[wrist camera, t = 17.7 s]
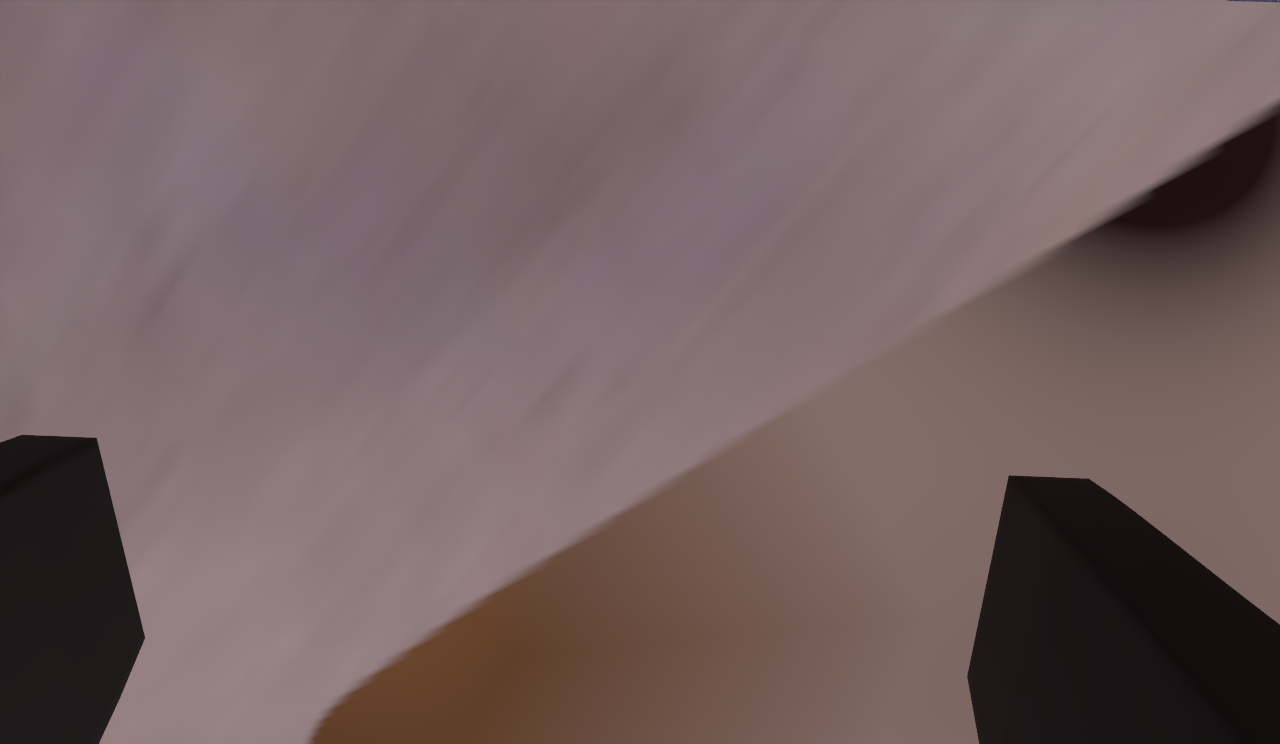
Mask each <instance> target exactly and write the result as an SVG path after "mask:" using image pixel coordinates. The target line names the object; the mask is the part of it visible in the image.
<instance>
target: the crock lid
mask: <svg viewBox="0 0 1280 744" xmlns="http://www.w3.org/2000/svg"><path fill="white" fill-rule="evenodd" d="M1228 1H1250V2H1280V0H1228Z"/></svg>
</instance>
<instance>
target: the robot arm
mask: <svg viewBox="0 0 1280 744" xmlns="http://www.w3.org/2000/svg"><path fill="white" fill-rule="evenodd" d="M144 639H145V636H144V632H143V628H142V624H141V619H140V615H139V611H138V607H137V603H136V599H135V595H134V591H133V586H132V582H131V578H130V574H129V570H128V566H127V562H126V557H125V553H124V549H123V545H122V541H121V537H120V533H119V529H118V524H117V520H116V516H115V512H114V508H113V504H112V500H111V495H110V491H109V487H108V483H107V479H106V475H105V471H104V467H103V462H102V458H101V454H100V450H99V446H98V442H97V438H84V437H59V436H35V435H20V436H18V437H15V438H12V439H9V440H7V441H4V442H1V443H0V744H99V742H100V740H101V738H102V735H103V733H104V731H105V729H106V727H107V725H108V723H109V720H110V718H111V716H112V714H113V712H114V710H115V707H116V705H117V703H118V701H119V699H120V696H121V694H122V692H123V689H124V687H125V684H126V682H127V680H128V677H129V675H130V672H131V670H132V668H133V665H134V663H135V661H136V658H137V656H138V653H139V651H140V649H141V646H142V644H143V641H144ZM967 677H968V683H969V688H970V694H971V700H972V705H973V711H974V717H975V722H976V727H977V733H978V739H979V744H1280V625H1279V624H1278V623H1277V622H1276V621H1274V620H1273V619H1271V618H1270V617H1269V616H1268V615H1266V614H1265V613H1264V612H1262V611H1261V610H1260V609H1258V608H1257V607H1256V606H1255V605H1253V604H1252V603H1251V602H1249V601H1248V600H1247V599H1246V598H1244V597H1243V596H1242V595H1240V594H1239V593H1238V592H1237V591H1235V590H1234V589H1232V588H1231V587H1230V586H1229V585H1228V584H1226V583H1225V582H1224V581H1222V580H1221V579H1220V578H1219V577H1217V576H1216V575H1215V574H1213V573H1212V572H1211V571H1210V570H1209V569H1207V568H1206V567H1205V566H1203V565H1202V564H1201V563H1200V562H1198V561H1197V560H1196V559H1194V558H1193V557H1192V556H1190V555H1189V554H1188V553H1187V552H1186V551H1184V550H1183V549H1182V548H1181V547H1179V546H1178V545H1177V544H1175V543H1174V542H1173V541H1172V540H1170V539H1169V538H1168V537H1167V536H1165V535H1164V534H1162V533H1161V532H1160V531H1159V530H1158V529H1156V528H1155V527H1154V526H1152V525H1151V524H1150V523H1149V522H1147V521H1146V520H1145V519H1143V518H1142V517H1141V516H1140V515H1138V514H1137V513H1136V512H1134V511H1133V510H1132V509H1130V508H1129V507H1128V506H1126V505H1125V504H1124V503H1122V502H1121V501H1120V500H1118V499H1117V498H1116V497H1114V496H1113V495H1112V494H1110V493H1109V492H1107V491H1106V490H1104V489H1103V488H1101V487H1100V486H1098V485H1097V484H1096V483H1094V482H1093V481H1091V480H1090V479H1080V478H1078V479H1077V478H1055V477H1030V476H1009V477H1008V482H1007V487H1006V492H1005V497H1004V502H1003V507H1002V511H1001V516H1000V521H999V526H998V531H997V535H996V540H995V545H994V550H993V555H992V560H991V565H990V569H989V574H988V579H987V584H986V589H985V594H984V598H983V604H982V608H981V613H980V618H979V622H978V627H977V632H976V637H975V642H974V647H973V651H972V656H971V661H970V666H969V671H968V676H967Z"/></svg>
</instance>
